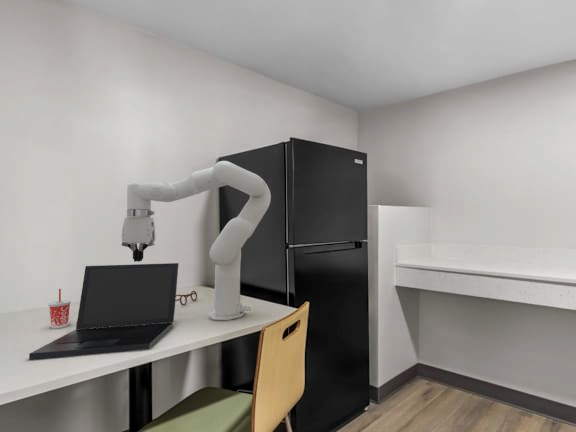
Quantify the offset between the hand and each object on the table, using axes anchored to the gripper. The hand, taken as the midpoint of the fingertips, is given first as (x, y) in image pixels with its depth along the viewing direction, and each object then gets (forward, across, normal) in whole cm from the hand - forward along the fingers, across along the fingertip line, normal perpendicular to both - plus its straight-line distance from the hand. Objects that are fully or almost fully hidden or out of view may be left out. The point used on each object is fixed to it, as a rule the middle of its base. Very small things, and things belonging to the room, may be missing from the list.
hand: (138, 261), depth 133 cm
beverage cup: (+24, +25, -1) cm, 35 cm away
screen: (+11, 0, +8) cm, 14 cm away
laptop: (+24, -1, +22) cm, 32 cm away
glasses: (+24, -6, -28) cm, 37 cm away
